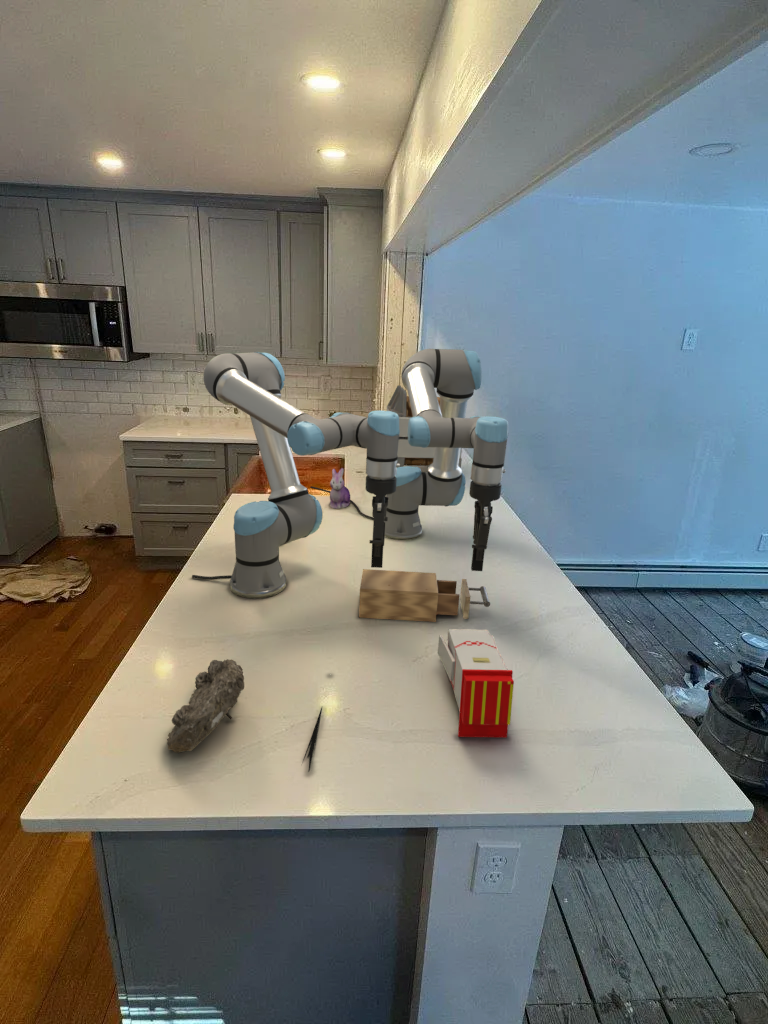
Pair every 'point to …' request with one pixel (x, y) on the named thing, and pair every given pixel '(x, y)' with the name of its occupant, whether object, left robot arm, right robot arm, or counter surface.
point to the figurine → (338, 491)
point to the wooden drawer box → (398, 595)
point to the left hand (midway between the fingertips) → (377, 555)
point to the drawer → (457, 598)
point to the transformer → (405, 450)
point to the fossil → (206, 705)
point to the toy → (478, 682)
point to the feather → (313, 740)
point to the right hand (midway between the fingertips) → (476, 569)
